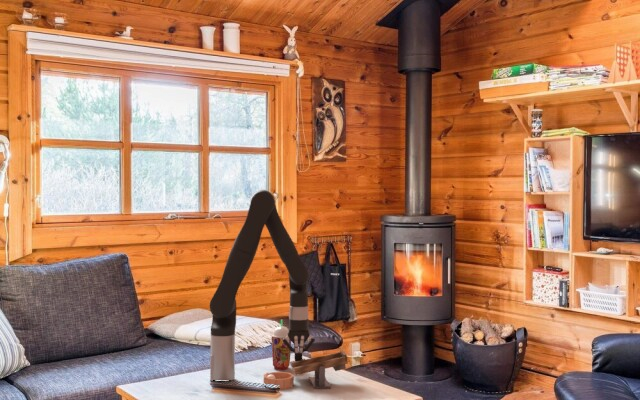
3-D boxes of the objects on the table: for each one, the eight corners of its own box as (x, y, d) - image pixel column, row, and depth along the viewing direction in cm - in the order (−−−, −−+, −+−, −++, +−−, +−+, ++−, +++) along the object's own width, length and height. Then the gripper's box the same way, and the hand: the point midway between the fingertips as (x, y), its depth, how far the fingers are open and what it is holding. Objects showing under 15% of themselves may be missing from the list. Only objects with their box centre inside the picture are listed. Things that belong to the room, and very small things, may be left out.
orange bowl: (264, 389, 262) (264, 379, 262) (262, 381, 273) (262, 372, 273) (294, 388, 264) (294, 379, 264) (291, 380, 275) (291, 371, 275)
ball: (277, 379, 267) (272, 386, 266) (277, 376, 270) (271, 384, 270) (270, 373, 266) (264, 381, 266) (269, 371, 270) (264, 379, 269)
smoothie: (282, 372, 288) (282, 322, 288) (266, 368, 293) (267, 319, 293) (295, 368, 294) (296, 319, 294) (280, 365, 300) (280, 317, 299)
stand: (314, 389, 263) (314, 367, 263) (309, 379, 277) (309, 358, 277) (330, 388, 264) (330, 366, 264) (324, 378, 278) (324, 358, 278)
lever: (296, 380, 265) (293, 366, 265) (291, 369, 282) (288, 355, 281) (348, 368, 268) (346, 354, 268) (340, 358, 285) (338, 345, 284)
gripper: (282, 319, 273) (282, 365, 273) (317, 318, 275) (316, 364, 275) (280, 316, 281) (280, 360, 281) (314, 315, 283) (314, 359, 283)
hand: (298, 362), depth 278 cm, fingers closed
